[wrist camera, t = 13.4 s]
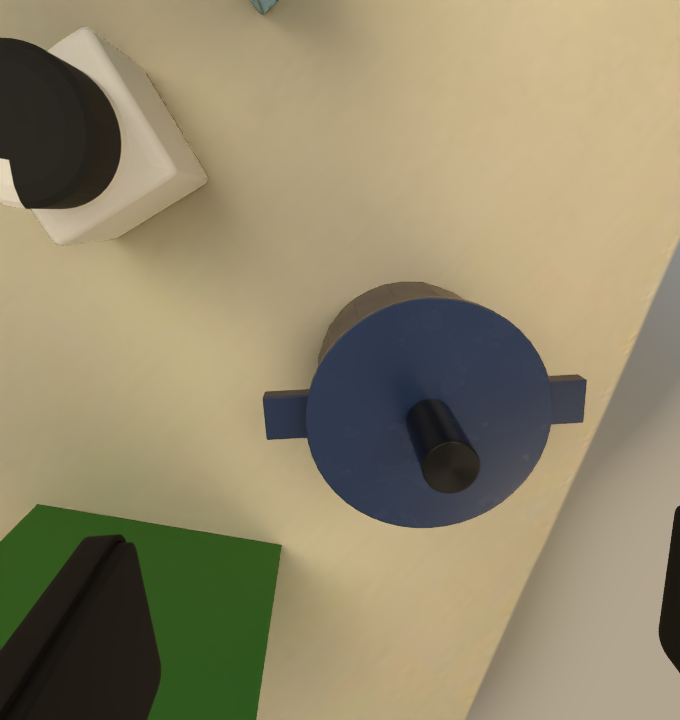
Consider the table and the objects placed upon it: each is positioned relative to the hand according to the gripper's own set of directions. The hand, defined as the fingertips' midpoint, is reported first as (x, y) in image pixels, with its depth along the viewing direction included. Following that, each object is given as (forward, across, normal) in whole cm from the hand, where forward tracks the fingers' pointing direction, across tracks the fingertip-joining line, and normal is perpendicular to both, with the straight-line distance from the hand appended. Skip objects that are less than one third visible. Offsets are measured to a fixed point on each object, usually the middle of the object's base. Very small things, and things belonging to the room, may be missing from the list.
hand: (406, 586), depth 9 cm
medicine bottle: (+26, +13, -10) cm, 30 cm away
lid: (+17, -3, +4) cm, 18 cm away
